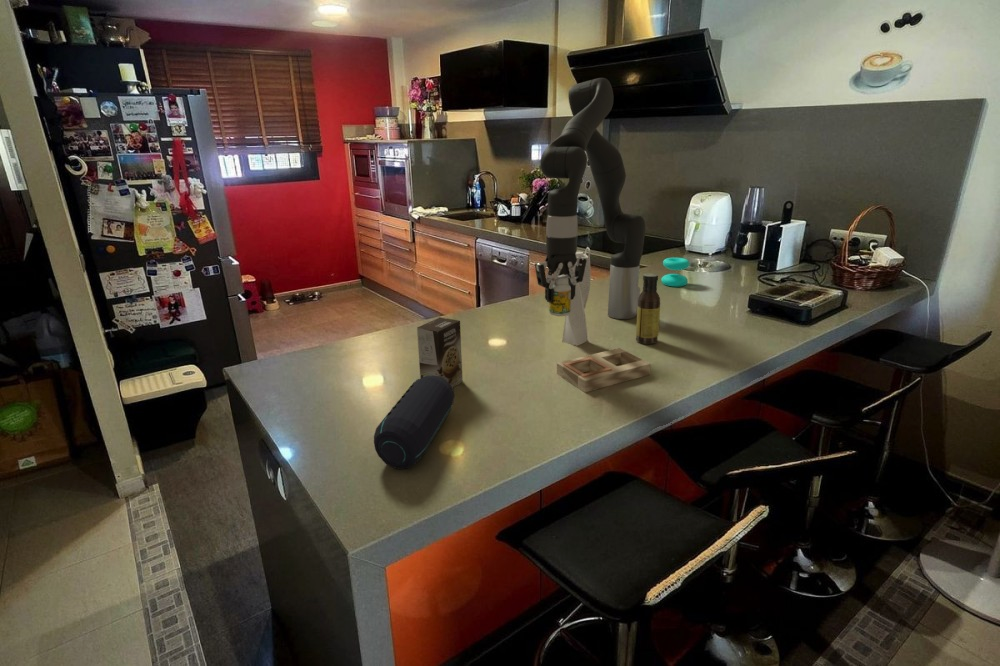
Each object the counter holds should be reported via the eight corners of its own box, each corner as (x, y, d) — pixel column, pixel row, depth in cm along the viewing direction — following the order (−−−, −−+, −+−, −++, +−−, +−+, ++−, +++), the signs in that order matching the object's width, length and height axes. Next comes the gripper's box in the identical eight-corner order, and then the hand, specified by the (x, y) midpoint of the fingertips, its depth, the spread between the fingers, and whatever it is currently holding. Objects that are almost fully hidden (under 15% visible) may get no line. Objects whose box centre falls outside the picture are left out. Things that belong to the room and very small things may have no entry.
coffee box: (441, 396, 125) (437, 331, 119) (420, 389, 128) (415, 327, 122) (464, 381, 132) (461, 320, 126) (443, 375, 135) (439, 315, 130)
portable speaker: (416, 408, 120) (413, 367, 116) (459, 412, 118) (457, 371, 114) (368, 473, 97) (362, 426, 93) (420, 480, 95) (416, 431, 91)
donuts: (660, 256, 214) (685, 256, 213) (658, 281, 217) (682, 280, 217) (667, 262, 204) (693, 262, 204) (665, 287, 208) (690, 287, 208)
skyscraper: (594, 341, 156) (598, 246, 146) (579, 348, 151) (583, 250, 141) (571, 334, 161) (574, 243, 151) (557, 341, 156) (559, 247, 146)
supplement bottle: (572, 311, 138) (573, 275, 134) (567, 317, 133) (569, 280, 129) (551, 309, 139) (552, 273, 136) (546, 315, 134) (547, 278, 131)
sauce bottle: (662, 342, 154) (668, 275, 147) (647, 346, 151) (653, 278, 144) (645, 335, 159) (650, 270, 152) (630, 340, 156) (635, 274, 149)
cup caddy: (618, 358, 144) (619, 346, 143) (649, 374, 134) (650, 362, 133) (556, 373, 135) (556, 361, 134) (584, 392, 125) (584, 379, 124)
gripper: (577, 229, 135) (575, 293, 141) (528, 234, 129) (528, 300, 135) (595, 233, 129) (592, 300, 135) (544, 239, 123) (543, 308, 129)
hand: (560, 300), depth 135 cm, fingers closed on supplement bottle, 5 cm apart
